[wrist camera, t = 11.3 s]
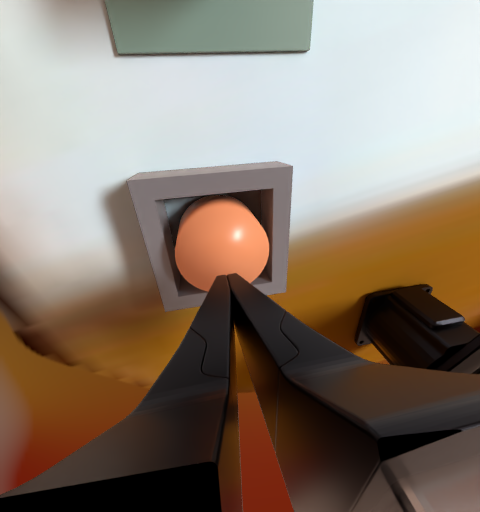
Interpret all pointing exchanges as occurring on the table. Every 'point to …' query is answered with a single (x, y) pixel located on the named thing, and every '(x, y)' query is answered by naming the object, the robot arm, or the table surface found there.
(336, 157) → the table surface
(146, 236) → the button box
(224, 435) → the robot arm
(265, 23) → the board
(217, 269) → the button
